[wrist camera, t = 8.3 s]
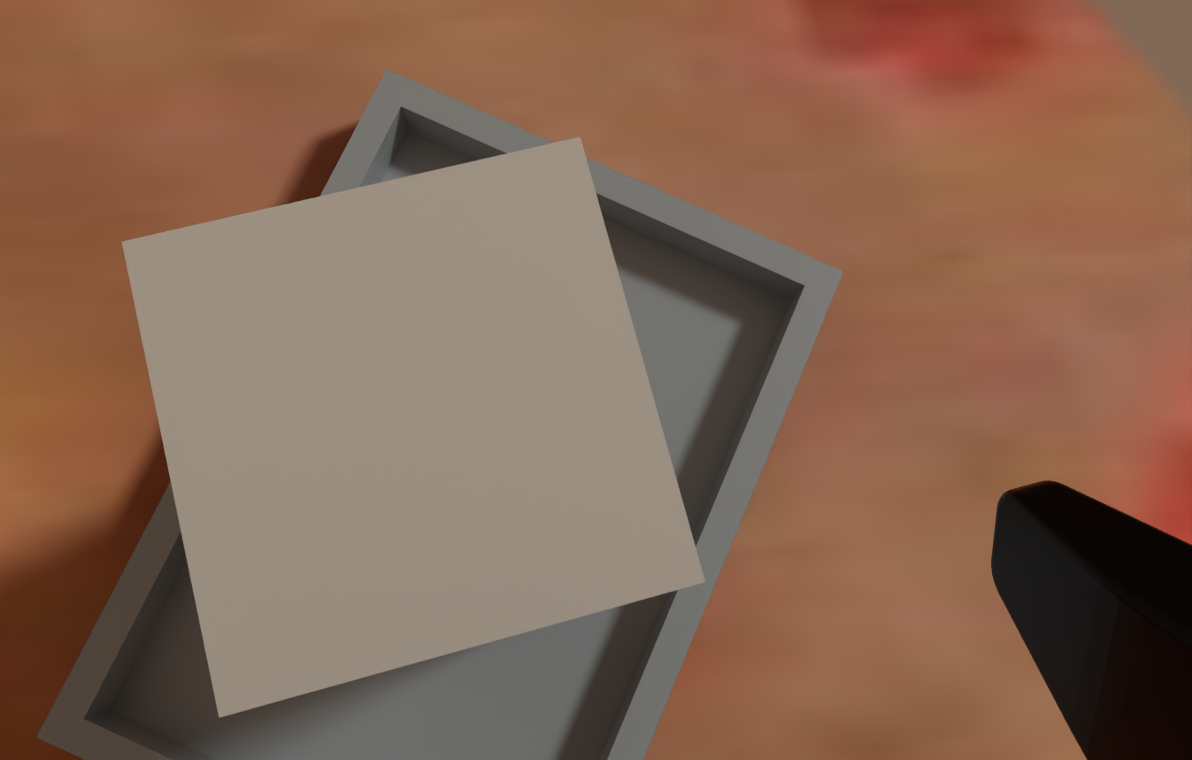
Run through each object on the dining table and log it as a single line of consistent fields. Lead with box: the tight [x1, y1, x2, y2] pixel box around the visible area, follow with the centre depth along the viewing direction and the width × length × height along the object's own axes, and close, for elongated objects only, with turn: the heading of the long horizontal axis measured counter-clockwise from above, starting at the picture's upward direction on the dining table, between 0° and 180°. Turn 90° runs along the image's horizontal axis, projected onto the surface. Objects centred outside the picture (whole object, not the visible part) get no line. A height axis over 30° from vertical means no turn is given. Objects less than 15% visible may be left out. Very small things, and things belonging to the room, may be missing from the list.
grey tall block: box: [122, 137, 705, 718], centre depth 16 cm, size 5×5×11 cm
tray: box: [36, 69, 843, 760], centre depth 21 cm, size 14×10×2 cm
